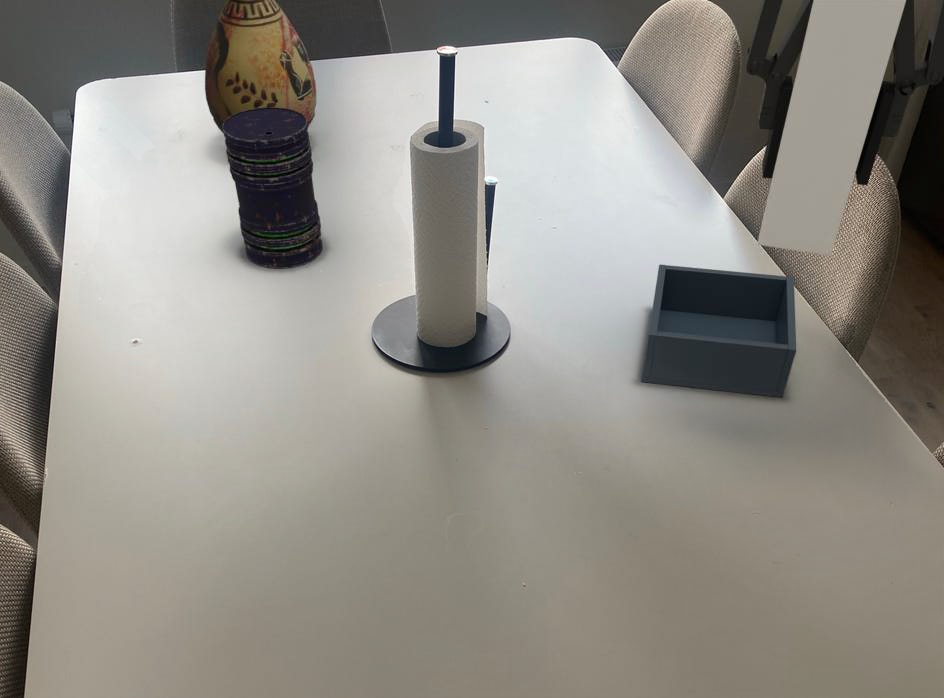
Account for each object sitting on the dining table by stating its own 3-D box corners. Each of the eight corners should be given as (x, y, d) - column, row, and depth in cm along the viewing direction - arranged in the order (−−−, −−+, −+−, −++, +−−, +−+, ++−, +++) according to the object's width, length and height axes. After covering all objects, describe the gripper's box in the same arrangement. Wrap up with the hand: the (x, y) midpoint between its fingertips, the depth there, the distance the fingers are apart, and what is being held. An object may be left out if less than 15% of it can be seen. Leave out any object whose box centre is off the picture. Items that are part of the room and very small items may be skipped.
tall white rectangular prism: (830, 257, 77) (930, -74, 60) (755, 245, 78) (832, -82, 61) (838, 224, 80) (934, -98, 64) (766, 213, 82) (841, -105, 65)
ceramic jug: (317, 173, 134) (285, -88, 111) (208, 173, 134) (155, -87, 111) (329, 125, 145) (302, -122, 122) (229, 125, 145) (184, -121, 122)
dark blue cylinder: (240, 236, 122) (216, 112, 110) (315, 226, 123) (300, 102, 112) (251, 274, 115) (226, 146, 104) (330, 262, 117) (314, 135, 106)
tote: (781, 323, 107) (794, 276, 103) (782, 397, 98) (796, 349, 93) (652, 310, 109) (659, 264, 105) (641, 381, 100) (648, 334, 96)
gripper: (753, -203, 57) (688, 185, 74) (1099, -197, 54) (948, 204, 72) (752, -223, 62) (691, 146, 79) (1070, -218, 59) (935, 163, 77)
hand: (813, 173), depth 75 cm, fingers closed on tall white rectangular prism, 7 cm apart
